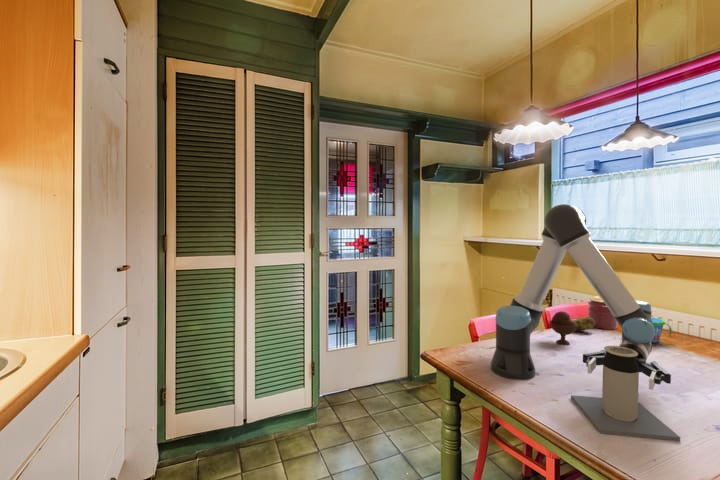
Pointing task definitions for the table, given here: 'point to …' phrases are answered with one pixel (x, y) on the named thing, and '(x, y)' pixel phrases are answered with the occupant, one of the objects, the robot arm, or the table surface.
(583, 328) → the potato
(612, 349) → the travel mug
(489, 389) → the table surface
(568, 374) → the table surface
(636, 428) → the mat
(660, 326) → the snack cup
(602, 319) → the canister
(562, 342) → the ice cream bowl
